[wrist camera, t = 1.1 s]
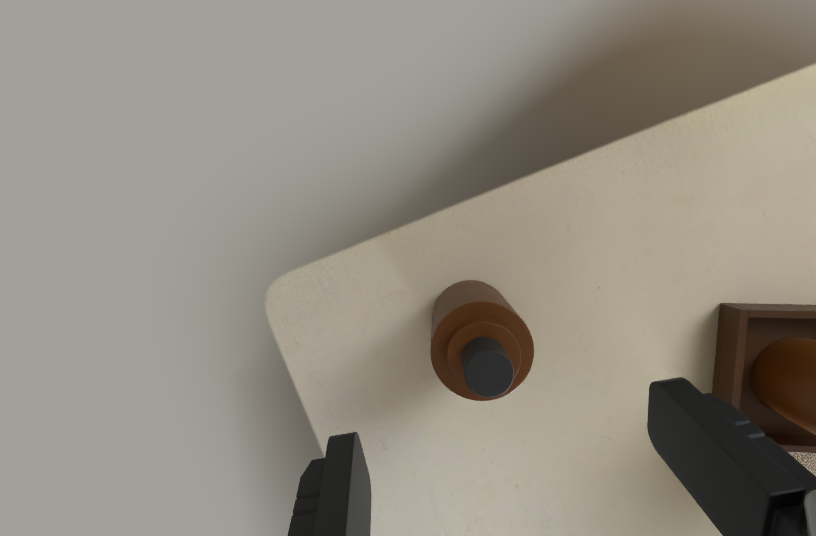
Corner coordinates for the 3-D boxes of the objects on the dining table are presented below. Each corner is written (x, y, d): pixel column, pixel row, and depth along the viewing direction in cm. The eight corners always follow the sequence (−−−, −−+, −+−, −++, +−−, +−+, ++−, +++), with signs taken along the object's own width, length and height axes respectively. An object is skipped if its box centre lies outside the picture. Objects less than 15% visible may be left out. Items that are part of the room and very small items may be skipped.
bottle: (448, 269, 32) (454, 298, 20) (520, 296, 32) (569, 341, 20) (421, 338, 33) (412, 405, 21) (492, 365, 33) (522, 448, 21)
